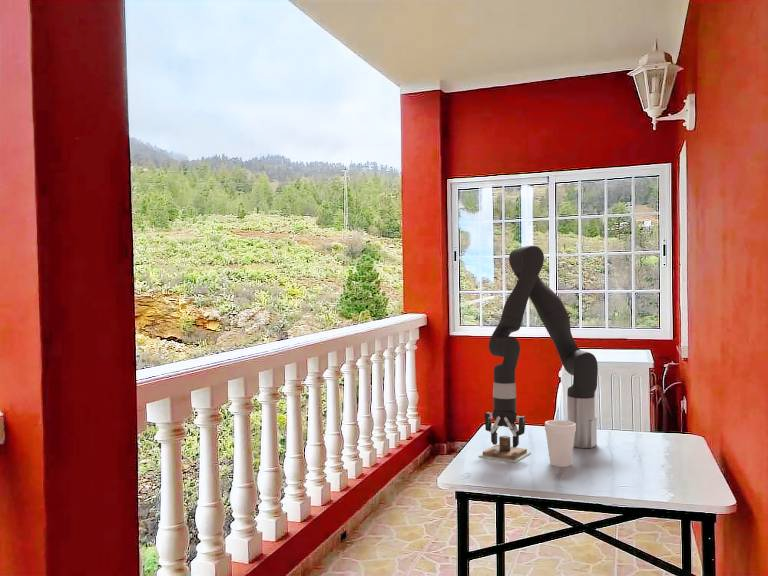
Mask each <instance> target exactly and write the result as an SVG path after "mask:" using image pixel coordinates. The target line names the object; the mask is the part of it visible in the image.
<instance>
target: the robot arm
mask: <svg viewBox="0 0 768 576" xmlns="http://www.w3.org/2000/svg"><path fill="white" fill-rule="evenodd" d="M508 262H509V266H510V268H511V271H513V273H514V275H515V276H516V278H517V281H516V284H515V286H514V288H513V289H512V291H510V294H509V296H508V297H507V299H506V301H505V303H504V305H503V309H502V313H501V316H500V320H499V322H498V324H497V326H496V327H495V329H494V331H493V332H492V335H491V336H490V339H489V341H488V350H489V352H490V354H491V355H492V356H493V357H494V356H495V357H498V358H499V357H501V358H503V359H502V363H498V364H496V365H494V367H493V387H492V402H493V403H492V404H493V405H492V406H493V407H492V408H493V409H492V410H493V411H492V412H490V411H487V412H486V413H484V426H485V431H486V432H489V433H490V435H491V436H490V440H491V443H492V445H493V446H495V445H498V432H497V431H498V430H499V428H500V427H505V428H508V429H509V431H510V432H511V433H512V447H514V448H515V447H516V448H518V446H519V444H520V440H519V439H520V436H522V435H523V434H525V430H526V427H525V426H526V416H525V415H522V416H520V415H518V414H517V387H516V368H517V365H518V360H519V357H520V352H521V345H520V342H519V340H518V339H517V338H516V337H515V336H510V335H511V334H512V333H514V332H518V331H519V330H520V329H521V326H522V322H523V318H524V315H525V311H526V308H527V305H528V302H529V299H530V301H531V303H532V305H533V306H534V309H535V310H536V312H537V315H538V317H539V318H540V320H541V322H542V324H543V326H544V328H545V330H546V331H547V333H548V335H549V337H550V339H551V341H552V343H553V344H554V346H555V348H556V351H557V354H558V356H559V359H560V361H561V364H562V366H563V368H564V370H565V372H567V373H568V374H569V375H571V376H573V377H572V380H573V381H572V385H571V386H568V388H567V398H566V399H567V410H566V411H567V413H566V414H567V416H566V417H567V421H571V422H574V423H576V432H575V437H574V445H573V448H579V449H588V448H589V449H593V448H594V447H596V446H597V444H598V441H597V440H598V438H597V435H598V434H597V431H598V430H597V425H598V423H597V422H598V421H597V419H598V418H597V417H596V415H595V414H596V407H595V406H596V404H595V402H596V401H595V400H596V399H595V394H596V391H597V387H598V372H599V368H598V366H599V365H598V361H597V357H596V356H595V355H594V353H592V352H589V351H583V350H581V349H580V348H579V346H578V344H577V343H576V341H575V339H574V337H573V335H572V334H573V333H572V330H571V321H570V316H569V313H568V310H567V308H566V307H565V304H564V303H563V301H562V300H561V298H560V296H558V295H557V293H556V292H554V291H553V290H552V289H551V287H549V286H548V285H547V284H545V282H543V280H542V279H541V278H540V276H539V274H540V273H541V270H542V269H543V265H544V262H545V255H544V252H543V250H542V249H541V248H540V247H539V246H538V245H535V244H534V245H533V244H531V245H525V246H521V247H518V248H515V249H513V250H512V251H510V253H509V256H508ZM492 419H494V423H493V425H492ZM515 421H517V423H518V427H517V424H516V422H515Z"/></svg>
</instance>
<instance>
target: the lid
mask: <svg viewBox="0 0 768 576" xmlns="http://www.w3.org/2000/svg"><path fill="white" fill-rule="evenodd" d="M498 439H499V440H498V441H499V443H498V444H496V445H493V446H491V447H489V448H487V449H485V450H483V451H482V454H483V455H484V456H491V457H497V458H503V459H510V460H515V459H517V458H518V457H520V456H522V455H524V454H525V453H527V452H528V449H527V448H524V447H523V448H522V447H515V448H514V447H513V446H511V436H509V435H500V436H499V437H498Z"/></svg>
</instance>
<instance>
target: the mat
mask: <svg viewBox="0 0 768 576" xmlns="http://www.w3.org/2000/svg"><path fill="white" fill-rule="evenodd" d="M530 455H531V452H530V451H527V453H525V454H524V455H522V456H520V457H518V458H517V459H515V460H510V459H503V458H497V457H491V456H484V455H483V453H481V454H479V455H478V458H482V459H483V458H484V459H490V460H493V461H494V460H497V461H501V462H506V463H507V462H508V463H514V464H516V463H517V462H518V463H519V462H520V461H521V460H522V459H525V458H526V457H528V456H530Z"/></svg>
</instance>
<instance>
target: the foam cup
mask: <svg viewBox="0 0 768 576" xmlns="http://www.w3.org/2000/svg"><path fill="white" fill-rule="evenodd" d="M544 431H545V435H546V436H545V437H546V441H547V442H546V443H547V449H548V450H547V451H548V457H549V464H550V465H551V466H554V467H558V468H559V467H560V468H561V467H563V468H565V467H570V466H571V465H572V461H573V460H572V459H573V451H574V447H573V445H574V437H575V432H576V423H574V422H571V421H568V420H565V419H552V420H546V421H545V422H544Z"/></svg>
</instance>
